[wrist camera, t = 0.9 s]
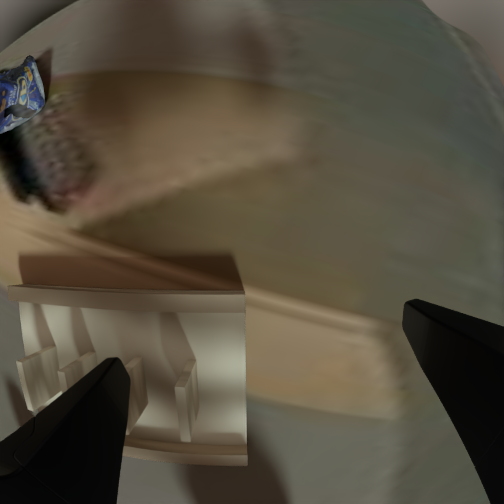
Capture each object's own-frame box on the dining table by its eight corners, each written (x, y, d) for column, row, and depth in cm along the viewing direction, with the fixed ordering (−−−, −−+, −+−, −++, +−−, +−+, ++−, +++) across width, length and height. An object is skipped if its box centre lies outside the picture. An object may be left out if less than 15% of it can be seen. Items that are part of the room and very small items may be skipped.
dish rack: (246, 447, 21) (249, 493, 15) (48, 420, 20) (16, 447, 14) (244, 290, 22) (246, 302, 16) (25, 284, 21) (-20, 288, 15)
